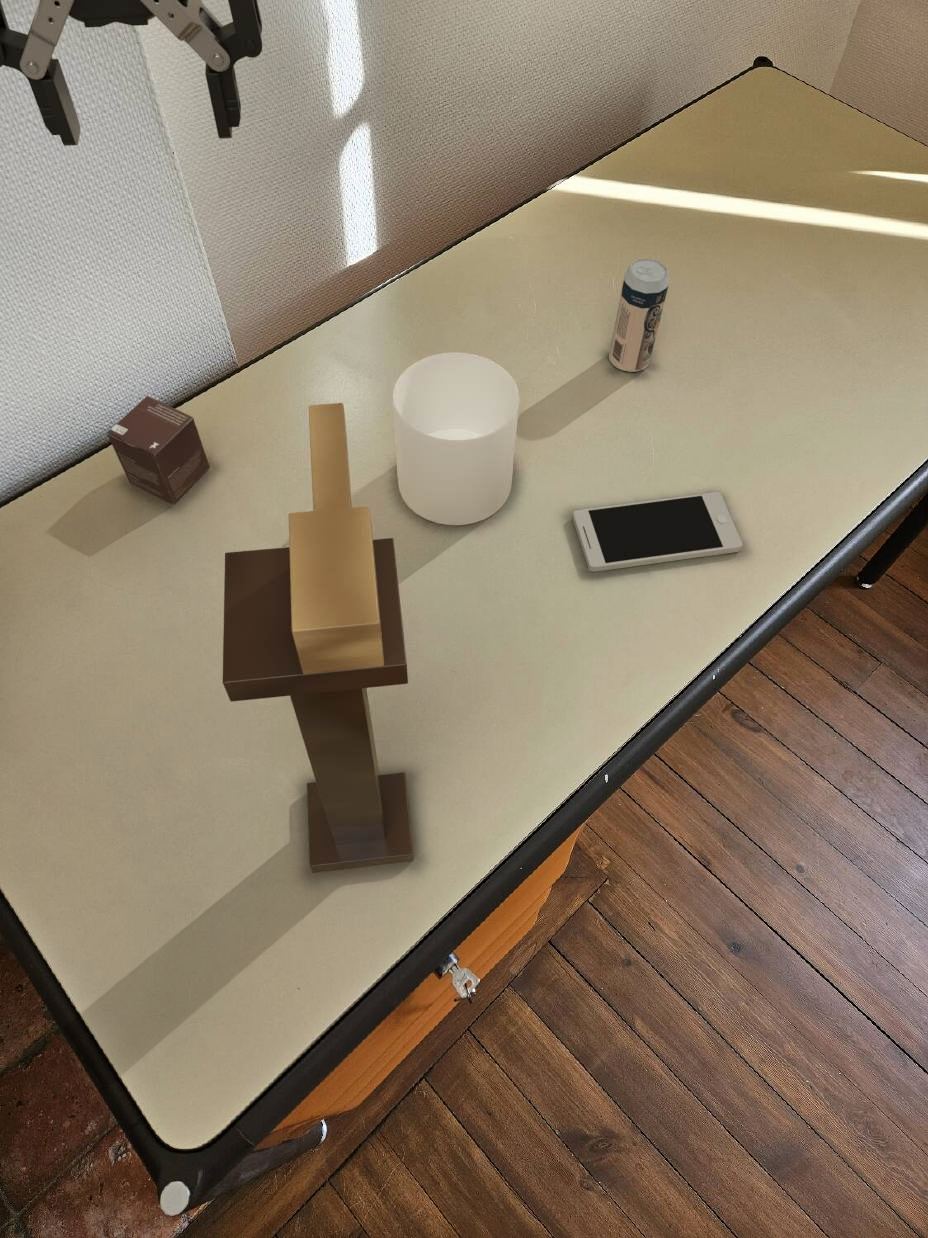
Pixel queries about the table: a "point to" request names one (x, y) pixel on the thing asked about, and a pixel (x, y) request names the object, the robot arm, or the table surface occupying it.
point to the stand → (323, 708)
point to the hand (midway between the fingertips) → (150, 134)
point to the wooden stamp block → (333, 561)
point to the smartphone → (656, 531)
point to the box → (159, 449)
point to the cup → (455, 437)
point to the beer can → (639, 314)
